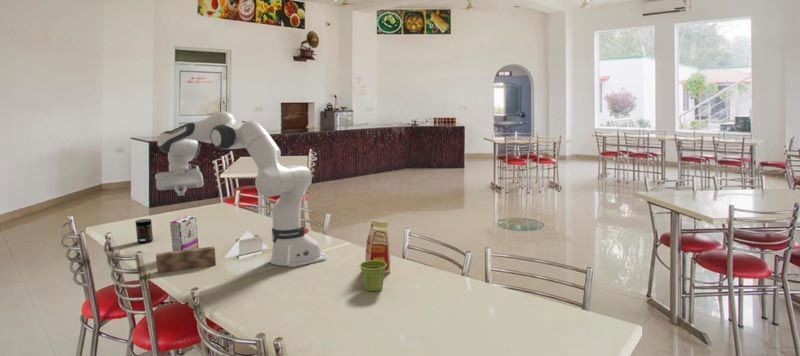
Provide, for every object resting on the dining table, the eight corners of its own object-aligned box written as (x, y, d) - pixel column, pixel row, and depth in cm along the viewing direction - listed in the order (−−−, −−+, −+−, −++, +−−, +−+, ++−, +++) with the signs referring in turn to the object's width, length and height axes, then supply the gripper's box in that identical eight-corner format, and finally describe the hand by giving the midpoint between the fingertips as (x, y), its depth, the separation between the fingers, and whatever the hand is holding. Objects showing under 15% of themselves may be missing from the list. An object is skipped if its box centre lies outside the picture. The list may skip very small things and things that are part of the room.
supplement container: (155, 239, 231) (153, 218, 230) (151, 243, 225) (149, 221, 223) (139, 240, 230) (137, 219, 228) (135, 244, 223) (133, 222, 222)
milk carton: (369, 274, 180) (368, 222, 177) (364, 267, 189) (363, 217, 186) (393, 272, 182) (392, 221, 179) (387, 264, 191) (386, 215, 188)
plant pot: (354, 289, 166) (353, 265, 164) (372, 281, 173) (371, 258, 172) (374, 295, 160) (374, 271, 159) (392, 287, 167) (392, 263, 166)
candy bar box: (189, 251, 211) (186, 215, 208) (199, 252, 210) (196, 215, 207) (172, 259, 200) (169, 221, 197) (183, 260, 199) (179, 222, 196)
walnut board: (215, 262, 195) (214, 246, 194) (215, 265, 193) (214, 248, 192) (157, 270, 187) (156, 253, 185) (157, 273, 184) (155, 255, 183)
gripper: (154, 168, 221) (155, 192, 214) (201, 165, 230) (204, 189, 222) (155, 176, 226) (156, 200, 218) (202, 173, 234) (204, 196, 227)
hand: (181, 194), depth 220 cm, fingers closed
